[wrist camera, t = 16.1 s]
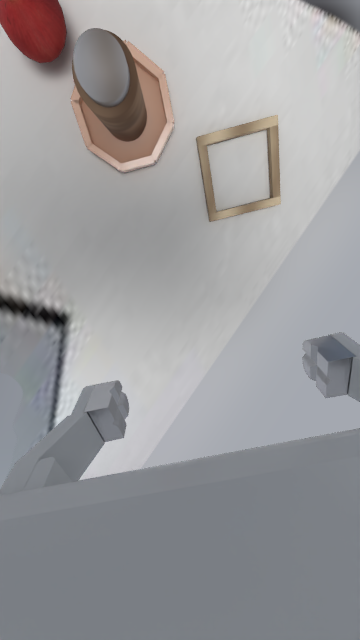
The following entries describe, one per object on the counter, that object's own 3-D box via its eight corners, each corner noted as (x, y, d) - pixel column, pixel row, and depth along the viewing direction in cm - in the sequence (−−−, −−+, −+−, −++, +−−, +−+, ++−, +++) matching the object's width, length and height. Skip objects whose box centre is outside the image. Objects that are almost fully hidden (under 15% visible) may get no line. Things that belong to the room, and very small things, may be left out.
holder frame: (209, 221, 35) (210, 221, 34) (196, 138, 30) (197, 136, 29) (277, 204, 34) (280, 204, 33) (274, 117, 30) (277, 114, 29)
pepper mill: (111, 146, 30) (82, 118, 19) (96, 92, 27) (52, 28, 17) (152, 135, 29) (143, 100, 19) (139, 79, 27) (121, 6, 17)
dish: (100, 179, 32) (96, 178, 30) (63, 69, 27) (57, 61, 25) (179, 157, 31) (180, 155, 29) (157, 40, 26) (156, 30, 25)
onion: (8, 20, 25) (-55, -51, 18) (53, -14, 24) (4, -104, 17) (45, 87, 27) (2, 47, 20) (87, 58, 27) (57, 6, 19)
